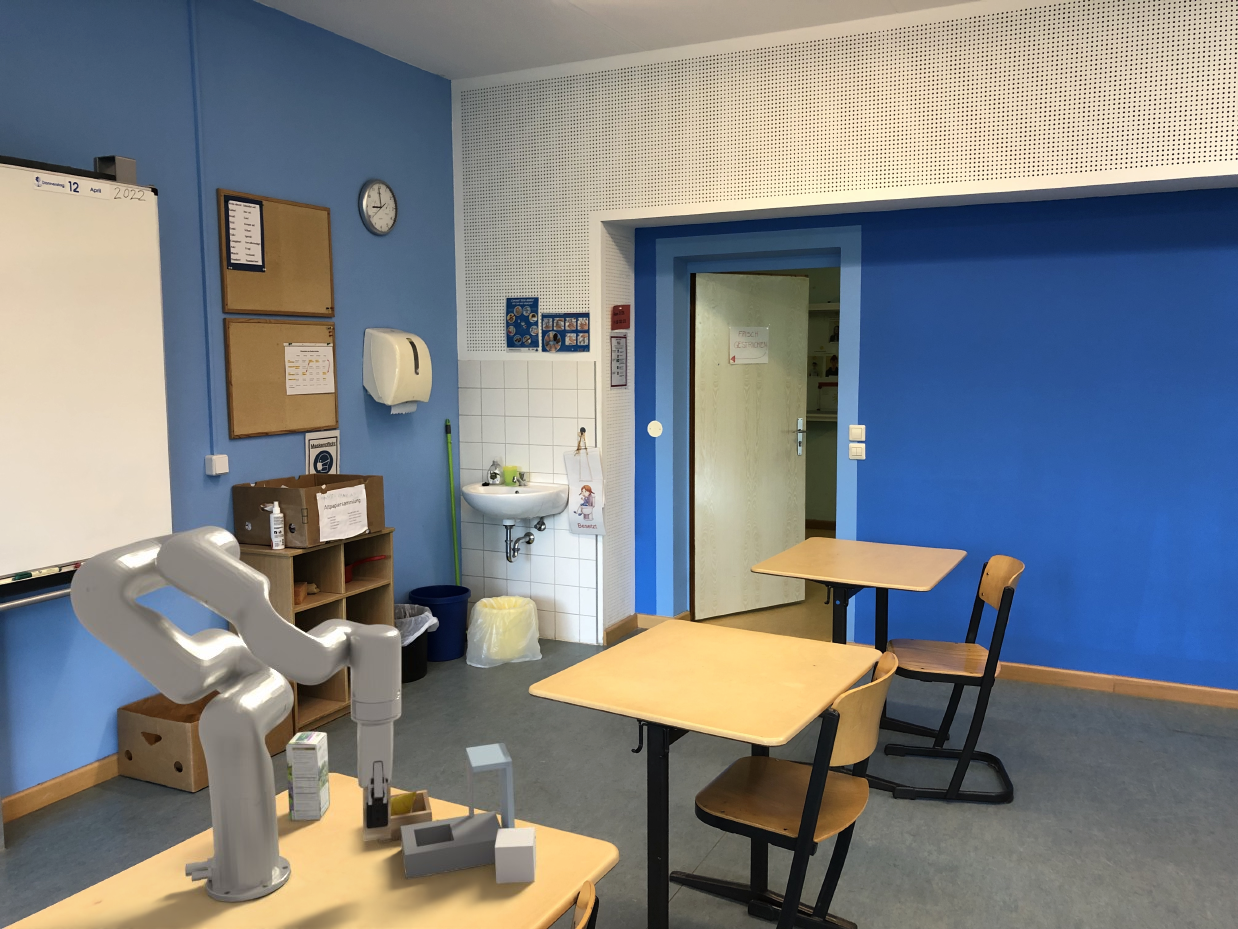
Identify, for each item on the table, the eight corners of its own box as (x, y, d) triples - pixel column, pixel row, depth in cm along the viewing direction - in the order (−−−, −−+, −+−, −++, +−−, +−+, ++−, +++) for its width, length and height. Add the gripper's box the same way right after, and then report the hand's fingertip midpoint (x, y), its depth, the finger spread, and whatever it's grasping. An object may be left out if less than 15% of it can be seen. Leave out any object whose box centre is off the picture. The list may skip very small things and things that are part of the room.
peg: (364, 840, 145) (363, 778, 144) (363, 828, 149) (362, 767, 147) (390, 837, 146) (390, 775, 145) (389, 825, 150) (388, 765, 149)
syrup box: (300, 806, 176) (295, 731, 174) (331, 805, 176) (327, 731, 174) (289, 821, 170) (284, 744, 169) (321, 820, 170) (317, 743, 169)
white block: (499, 864, 154) (498, 828, 153) (536, 862, 154) (535, 827, 154) (496, 883, 148) (494, 847, 147) (534, 882, 148) (533, 845, 148)
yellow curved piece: (404, 813, 172) (433, 786, 167) (396, 838, 167) (425, 811, 163) (379, 800, 170) (407, 772, 166) (370, 825, 166) (399, 796, 161)
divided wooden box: (379, 842, 162) (377, 820, 161) (376, 818, 170) (375, 797, 170) (432, 833, 164) (431, 811, 164) (427, 810, 173) (426, 789, 172)
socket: (406, 879, 150) (405, 855, 149) (401, 848, 159) (400, 826, 159) (506, 861, 154) (505, 838, 154) (495, 832, 164) (494, 810, 164)
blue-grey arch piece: (476, 860, 155) (472, 766, 153) (469, 837, 163) (465, 748, 161) (515, 853, 157) (512, 760, 155) (507, 830, 165) (503, 742, 163)
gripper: (349, 689, 152) (350, 798, 154) (352, 729, 136) (352, 849, 138) (397, 686, 154) (397, 793, 156) (405, 724, 138) (405, 843, 140)
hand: (376, 818), depth 147 cm, fingers closed on peg, 4 cm apart
